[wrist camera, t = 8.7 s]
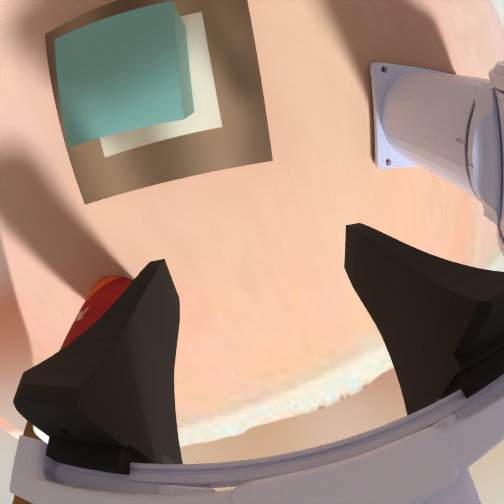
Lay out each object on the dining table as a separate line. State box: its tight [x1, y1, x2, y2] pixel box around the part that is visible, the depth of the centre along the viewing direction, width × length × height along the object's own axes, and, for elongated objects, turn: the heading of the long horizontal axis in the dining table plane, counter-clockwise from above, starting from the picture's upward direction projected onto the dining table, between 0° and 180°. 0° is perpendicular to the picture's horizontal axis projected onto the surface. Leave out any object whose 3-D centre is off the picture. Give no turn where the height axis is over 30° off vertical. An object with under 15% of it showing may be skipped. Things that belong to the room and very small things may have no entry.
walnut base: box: [45, 0, 273, 204], centre depth 14 cm, size 12×12×3 cm
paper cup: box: [33, 276, 133, 444], centre depth 17 cm, size 8×8×14 cm
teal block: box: [55, 1, 194, 148], centre depth 10 cm, size 5×5×5 cm
